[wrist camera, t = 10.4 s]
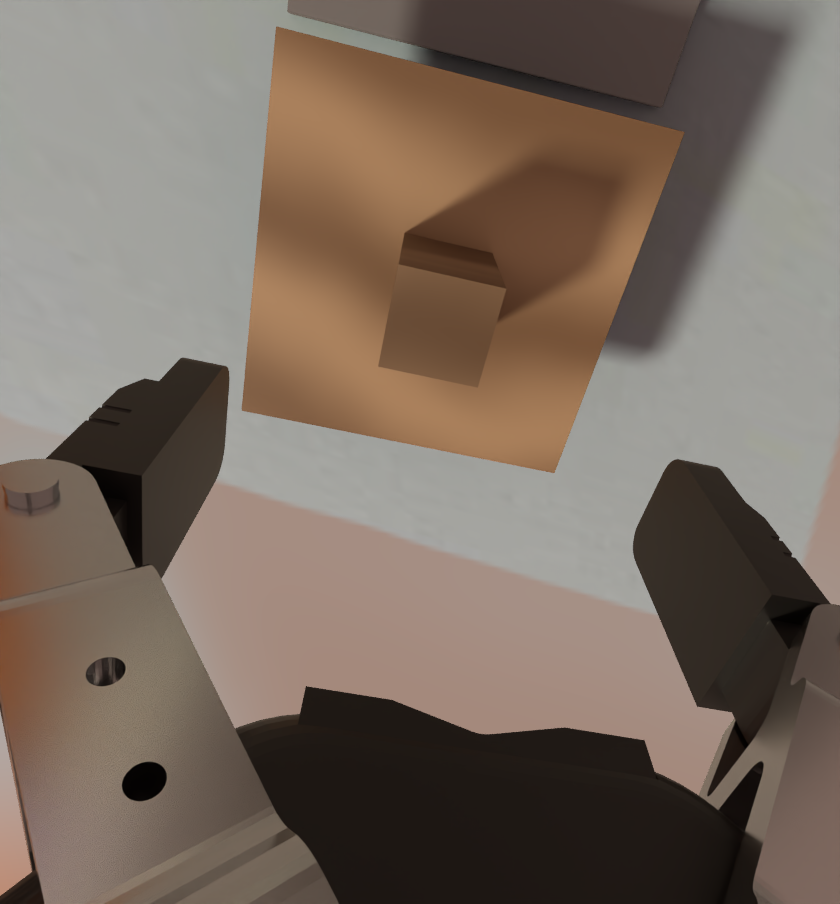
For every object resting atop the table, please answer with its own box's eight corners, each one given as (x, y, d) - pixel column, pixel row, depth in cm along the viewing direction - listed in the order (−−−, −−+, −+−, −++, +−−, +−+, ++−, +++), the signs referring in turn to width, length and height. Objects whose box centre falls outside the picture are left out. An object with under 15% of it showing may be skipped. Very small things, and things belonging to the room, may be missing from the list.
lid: (281, 29, 19) (233, 6, 14) (675, 130, 20) (749, 141, 15) (246, 401, 25) (204, 471, 20) (551, 462, 26) (577, 542, 21)
